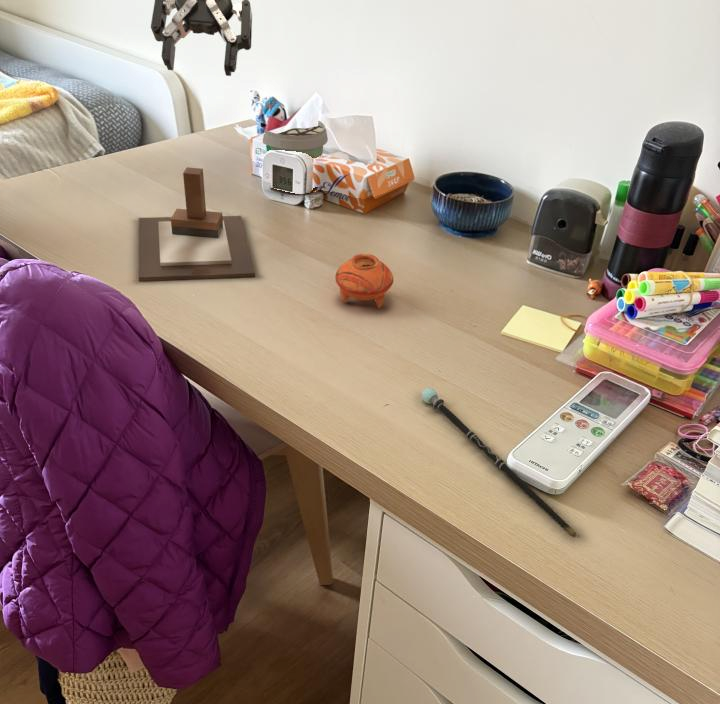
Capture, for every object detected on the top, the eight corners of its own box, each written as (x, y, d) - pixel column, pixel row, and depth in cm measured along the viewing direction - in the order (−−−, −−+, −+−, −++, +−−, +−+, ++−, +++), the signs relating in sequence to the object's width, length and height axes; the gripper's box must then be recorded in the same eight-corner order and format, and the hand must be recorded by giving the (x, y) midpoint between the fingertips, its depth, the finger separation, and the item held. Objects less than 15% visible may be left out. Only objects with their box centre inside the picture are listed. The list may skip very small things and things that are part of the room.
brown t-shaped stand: (172, 234, 108) (165, 173, 102) (178, 223, 111) (171, 163, 105) (218, 238, 108) (214, 177, 102) (223, 227, 111) (219, 167, 105)
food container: (283, 202, 123) (283, 141, 116) (263, 190, 126) (262, 130, 119) (339, 189, 129) (342, 130, 122) (319, 178, 132) (321, 120, 125)
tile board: (139, 281, 99) (137, 273, 98) (139, 221, 113) (138, 213, 112) (255, 276, 102) (254, 269, 101) (241, 219, 116) (240, 211, 116)
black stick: (569, 544, 69) (566, 538, 68) (421, 400, 84) (416, 392, 82) (583, 532, 69) (580, 525, 68) (433, 390, 84) (428, 382, 82)
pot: (405, 296, 100) (405, 256, 95) (370, 327, 97) (368, 287, 92) (361, 275, 104) (358, 235, 98) (325, 304, 100) (321, 264, 95)
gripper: (153, -62, 101) (142, 48, 100) (253, -53, 101) (243, 58, 101) (166, -23, 109) (156, 81, 108) (259, -14, 109) (250, 89, 108)
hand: (198, 69), depth 104 cm, fingers open, 8 cm apart
